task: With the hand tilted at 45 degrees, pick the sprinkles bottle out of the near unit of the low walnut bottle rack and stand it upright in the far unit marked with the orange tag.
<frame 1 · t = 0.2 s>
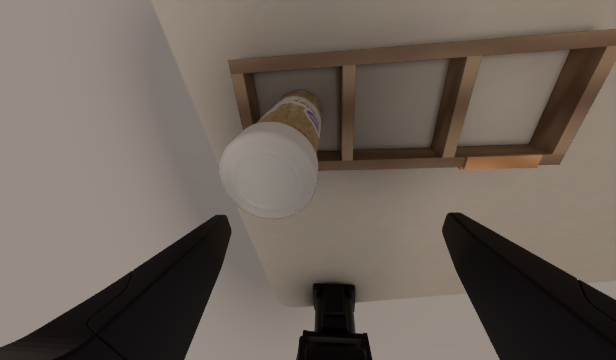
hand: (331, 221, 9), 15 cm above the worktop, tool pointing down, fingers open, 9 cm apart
rack: (394, 108, 21), on the worktop
sprinkles bottle: (299, 113, 22), resting in rack
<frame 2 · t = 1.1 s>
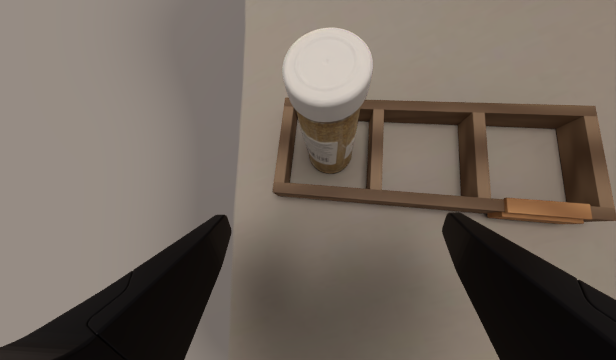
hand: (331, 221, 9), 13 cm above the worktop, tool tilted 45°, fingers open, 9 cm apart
rack: (417, 159, 22), on the worktop
sprinkles bottle: (329, 154, 24), resting in rack
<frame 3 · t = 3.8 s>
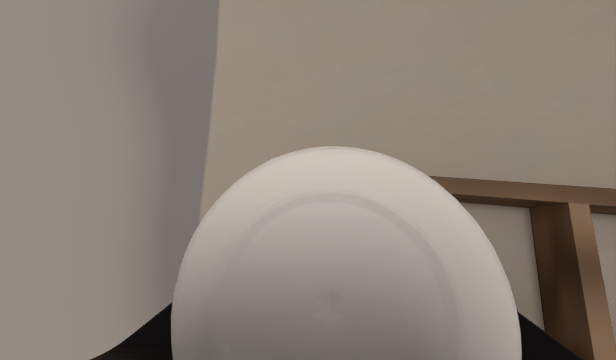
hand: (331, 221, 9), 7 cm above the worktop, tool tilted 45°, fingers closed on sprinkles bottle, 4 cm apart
rack: (469, 262, 14), on the worktop
sprinkles bottle: (332, 246, 16), resting in rack, touching gripper
when the fingers open (8 cm above the worktop, at t = 8.1 s): sprinkles bottle drops 1 cm, resting in rack.
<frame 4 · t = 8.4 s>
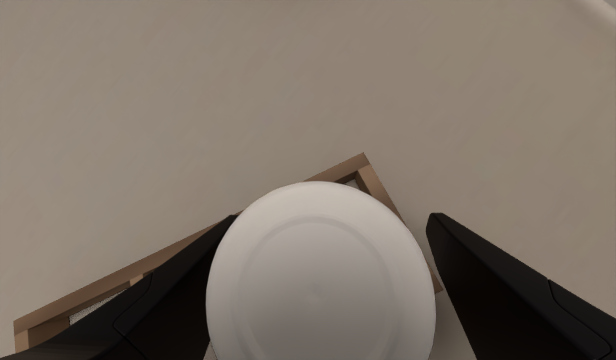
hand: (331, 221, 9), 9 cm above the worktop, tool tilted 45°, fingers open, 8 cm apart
rack: (227, 296, 17), on the worktop
sprinkles bottle: (328, 248, 17), resting in rack
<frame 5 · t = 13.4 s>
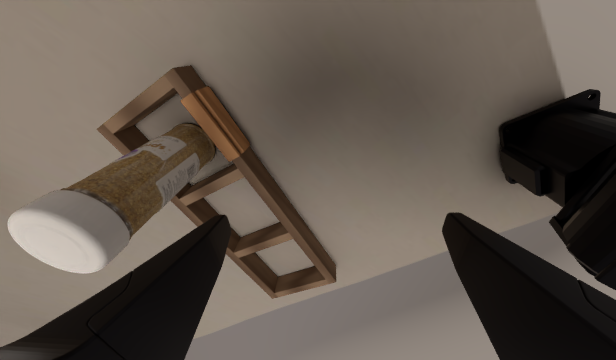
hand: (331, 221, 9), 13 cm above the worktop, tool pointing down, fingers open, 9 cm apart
rack: (245, 205, 26), on the worktop
sprinkles bottle: (195, 143, 22), resting in rack
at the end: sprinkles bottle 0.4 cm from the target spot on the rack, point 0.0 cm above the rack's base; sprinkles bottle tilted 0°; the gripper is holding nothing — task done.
